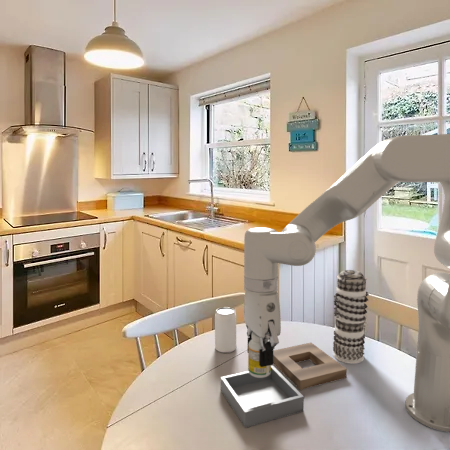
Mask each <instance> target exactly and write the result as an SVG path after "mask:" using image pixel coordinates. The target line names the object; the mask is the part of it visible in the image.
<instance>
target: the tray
mask: <svg viewBox="0 0 450 450" xmlns="http://www.w3.org/2000/svg"><path fill="white" fill-rule="evenodd" d="M285 377H286V376H285V375H284V374H283V373H282V372H281V371H280V370H279V369H278V368H277V367H275V365H274V364H272V365H271V373H270V375H269V376H267V377H264V378H257V377H254V376H252V375H250V374H249V372H248V370H246V371H242V372H238V373H233V374H228V375H224V376H220V392H221V393H222V394H223V397H224V398H225V399H226V401H227V403H228V404H229V406H230V407H231V408H232V410H233V412H234V413H235V414H236V416H237V419H238V420H240V423H241V424H242V426H243V427H244V429H246V428H249V427H253V426H257V425H261V424H264V423H267V422H271V421H275V420H277V419H281V418H284V417H288V416H291V415H295V414H296V415H297V414H299V413H302V412H304V404H305V403H304V402H305V401H304V400H305V396H304V395H303V394H302V393H301V392H300V391H299V389H298V388H296V387H295V386H294V385H293V383H291V382H290V380H288V379H287V377H286V378H285Z"/></svg>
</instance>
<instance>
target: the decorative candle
mask: <svg viewBox="0 0 450 450" xmlns="http://www.w3.org/2000/svg"><path fill="white" fill-rule="evenodd" d="M336 278H337V285H336V293H335V295H333V298H334V300H333V305H334V307H333V309H334V313H333V315H334V318H335V325H334V331H333V335H334V336H333V343H332V345H333V347H332V351H333V352H332V354H333V358H335V360H336V361H338V362H343V363H345V364H359V363H362V362H363V361H364V358H365V357H364V355H365V352H364V351H365V341H366V340H365V339H366V335H365V329H364V327H365V325H364V323H365V322H366V319H367V317H366V316H365V315H366V314H367V313H368V311H367V308H368V304H366V303H367V302H369V299H368V296H369V292H368V291H367V289H366V286H367V280H368V278H367V277H366V276H364V274H363V273H362V272H361V271H358V270H354V269H353V270H352V269H346V270H342V271H341V272H340V273H339V274H337V275H336Z"/></svg>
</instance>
